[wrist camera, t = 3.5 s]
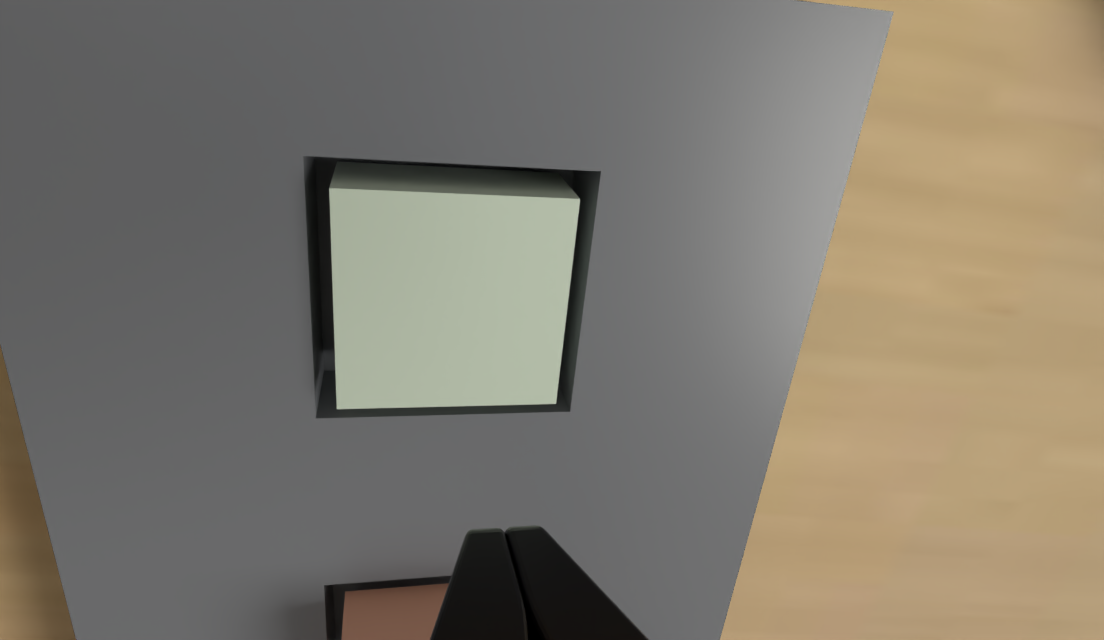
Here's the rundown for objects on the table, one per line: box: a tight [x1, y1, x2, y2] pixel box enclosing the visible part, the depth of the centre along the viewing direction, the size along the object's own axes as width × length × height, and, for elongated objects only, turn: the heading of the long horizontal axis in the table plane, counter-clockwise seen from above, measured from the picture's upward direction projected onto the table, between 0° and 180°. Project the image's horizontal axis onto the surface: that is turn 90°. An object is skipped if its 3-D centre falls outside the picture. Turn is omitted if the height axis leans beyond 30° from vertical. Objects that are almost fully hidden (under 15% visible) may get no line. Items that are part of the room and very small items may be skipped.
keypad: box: [0, 0, 893, 640], centre depth 19 cm, size 32×16×3 cm, turn 174°
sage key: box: [329, 162, 580, 409], centre depth 15 cm, size 4×4×2 cm
